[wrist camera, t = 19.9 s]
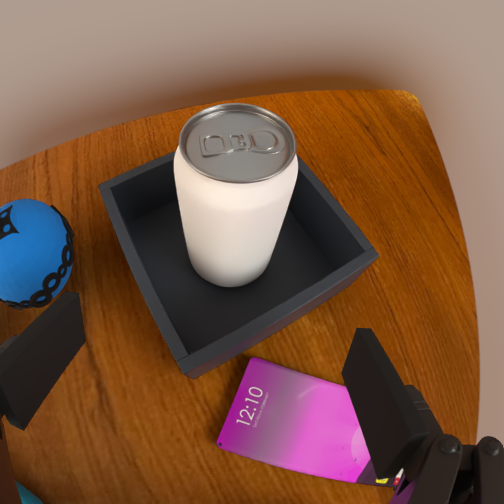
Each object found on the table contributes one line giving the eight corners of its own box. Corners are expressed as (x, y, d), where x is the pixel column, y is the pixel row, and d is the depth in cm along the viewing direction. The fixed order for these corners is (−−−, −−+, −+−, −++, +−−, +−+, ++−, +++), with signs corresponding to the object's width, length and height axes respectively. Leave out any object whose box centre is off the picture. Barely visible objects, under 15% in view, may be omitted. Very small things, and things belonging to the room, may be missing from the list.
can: (279, 281, 24) (325, 182, 13) (195, 296, 23) (174, 200, 12) (259, 211, 27) (283, 95, 16) (183, 222, 26) (167, 105, 15)
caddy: (349, 285, 25) (380, 255, 20) (192, 379, 21) (183, 374, 16) (257, 164, 30) (264, 119, 25) (117, 225, 26) (97, 185, 21)
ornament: (5, 263, 23) (-55, 207, 14) (71, 216, 26) (27, 142, 17) (30, 340, 20) (-48, 302, 11) (106, 288, 23) (51, 224, 14)
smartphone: (393, 486, 17) (399, 488, 17) (214, 445, 19) (214, 447, 18) (419, 406, 21) (425, 406, 20) (251, 355, 22) (252, 354, 21)
